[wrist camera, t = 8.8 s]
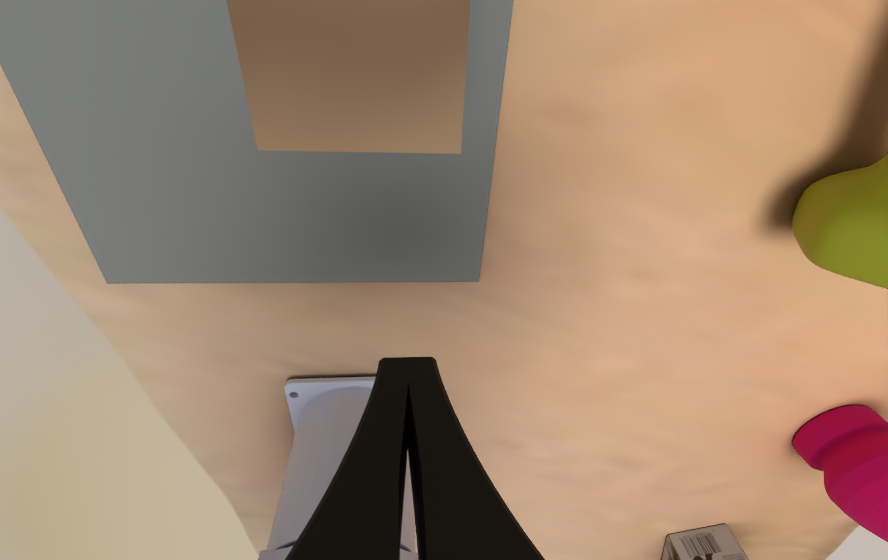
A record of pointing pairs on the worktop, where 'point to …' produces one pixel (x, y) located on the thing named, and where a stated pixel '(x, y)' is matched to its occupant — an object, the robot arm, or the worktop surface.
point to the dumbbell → (847, 223)
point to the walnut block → (354, 73)
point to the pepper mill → (851, 462)
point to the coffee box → (703, 545)
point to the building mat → (236, 154)
